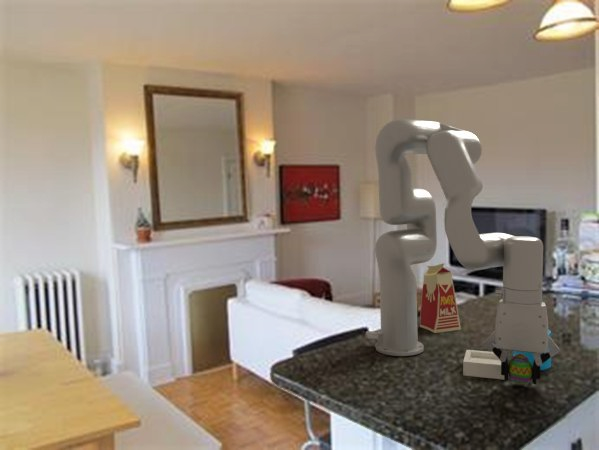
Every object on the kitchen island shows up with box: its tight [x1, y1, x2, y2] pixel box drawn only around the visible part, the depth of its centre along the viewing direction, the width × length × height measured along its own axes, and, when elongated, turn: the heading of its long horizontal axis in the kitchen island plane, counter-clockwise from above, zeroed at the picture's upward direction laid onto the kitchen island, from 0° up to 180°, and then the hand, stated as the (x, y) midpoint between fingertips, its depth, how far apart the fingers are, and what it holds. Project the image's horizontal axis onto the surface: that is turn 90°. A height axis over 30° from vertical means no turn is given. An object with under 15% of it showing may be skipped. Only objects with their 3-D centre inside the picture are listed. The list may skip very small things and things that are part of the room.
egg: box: [508, 354, 533, 385], centre depth 109 cm, size 5×5×6 cm
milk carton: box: [419, 263, 462, 334], centre depth 156 cm, size 9×9×20 cm
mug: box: [512, 329, 552, 371], centre depth 125 cm, size 12×8×8 cm
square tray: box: [462, 349, 504, 381], centre depth 120 cm, size 9×9×3 cm
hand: (520, 379), depth 110 cm, fingers closed on egg, 4 cm apart
